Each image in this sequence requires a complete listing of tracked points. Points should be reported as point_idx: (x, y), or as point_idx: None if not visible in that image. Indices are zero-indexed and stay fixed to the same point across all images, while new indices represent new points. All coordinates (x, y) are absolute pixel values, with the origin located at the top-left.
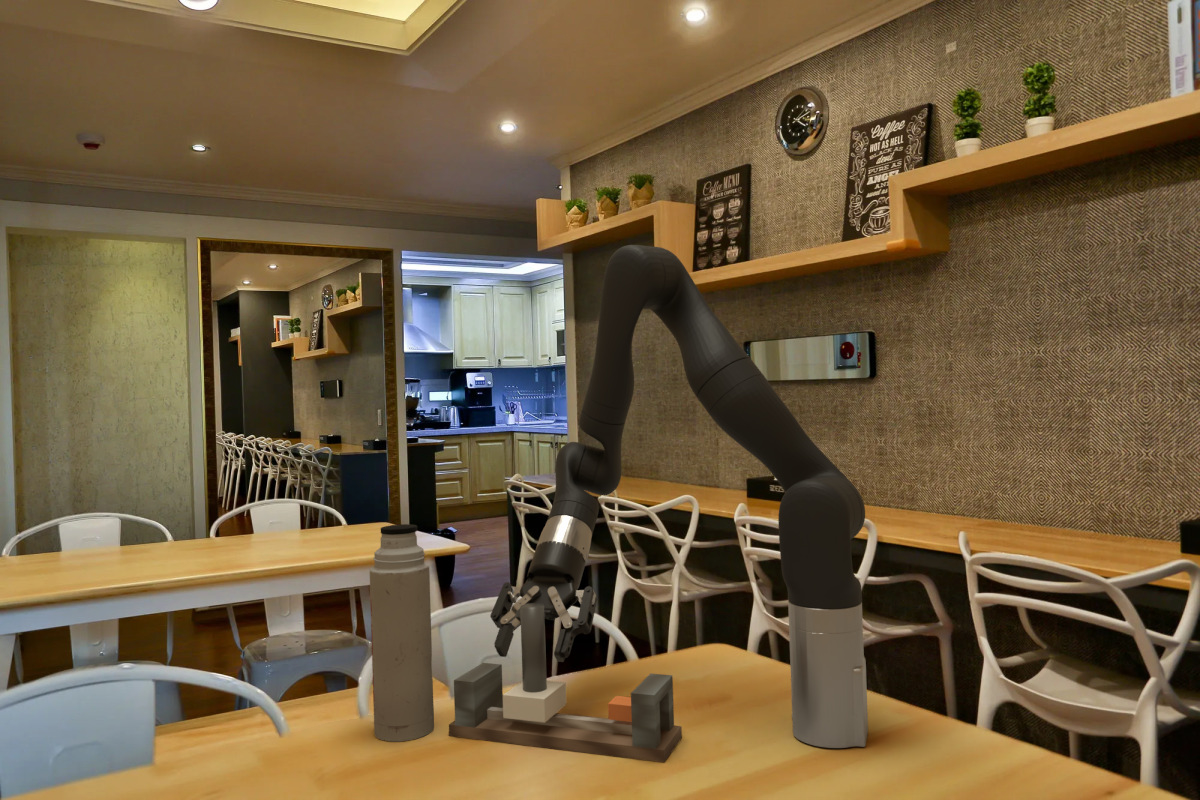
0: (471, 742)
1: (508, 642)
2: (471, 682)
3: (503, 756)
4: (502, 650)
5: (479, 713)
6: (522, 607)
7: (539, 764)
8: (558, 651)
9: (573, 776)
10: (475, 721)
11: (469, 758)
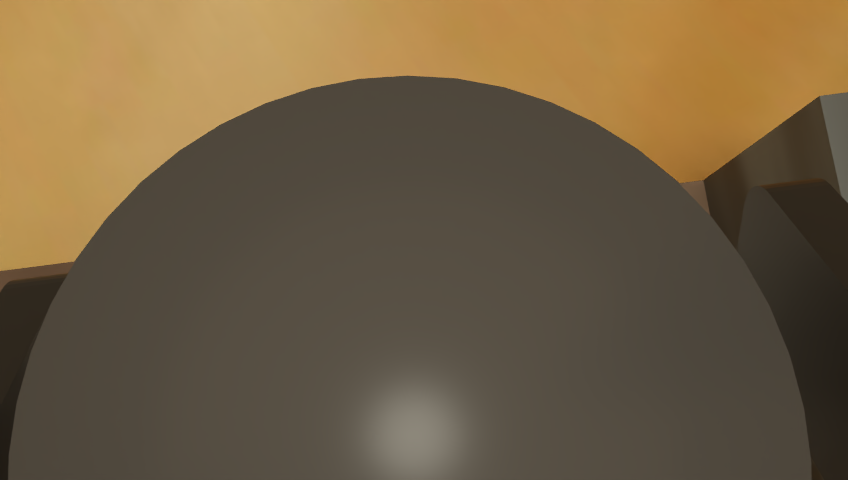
0: (676, 156)
1: (805, 388)
2: (835, 96)
3: None
4: (754, 237)
5: (735, 224)
6: (582, 159)
7: (235, 80)
8: (13, 287)
9: (41, 39)
10: (715, 181)
11: (562, 6)
